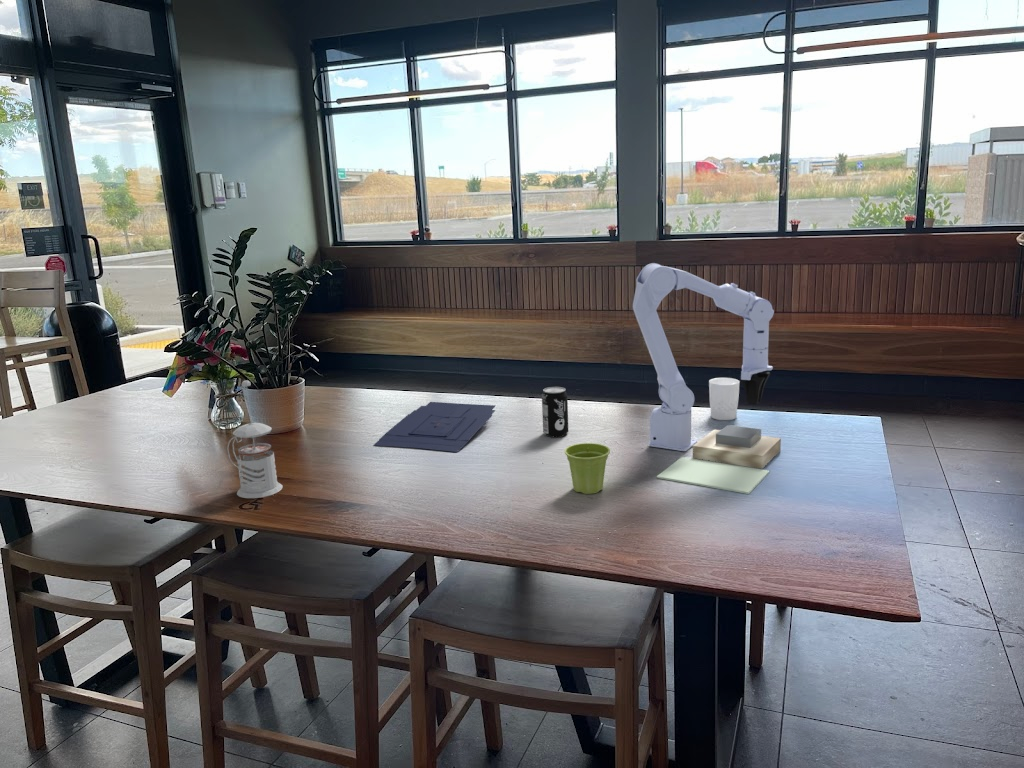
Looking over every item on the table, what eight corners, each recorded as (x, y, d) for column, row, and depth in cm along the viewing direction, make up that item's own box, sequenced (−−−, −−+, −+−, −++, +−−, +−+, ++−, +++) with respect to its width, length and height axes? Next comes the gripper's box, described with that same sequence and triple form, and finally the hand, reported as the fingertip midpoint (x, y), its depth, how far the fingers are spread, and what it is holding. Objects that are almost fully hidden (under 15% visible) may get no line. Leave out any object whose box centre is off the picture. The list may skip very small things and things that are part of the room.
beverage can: (573, 432, 203) (571, 387, 200) (560, 439, 197) (559, 393, 195) (551, 429, 206) (549, 385, 203) (538, 436, 201) (536, 391, 198)
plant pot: (616, 494, 160) (615, 454, 158) (571, 499, 158) (570, 459, 156) (603, 479, 169) (602, 441, 167) (561, 483, 167) (560, 445, 165)
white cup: (715, 411, 215) (715, 376, 213) (743, 415, 211) (743, 379, 208) (704, 418, 209) (704, 382, 207) (732, 422, 204) (733, 385, 202)
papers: (503, 414, 218) (502, 402, 216) (459, 462, 192) (457, 448, 190) (425, 410, 226) (424, 398, 225) (373, 454, 200) (371, 441, 199)
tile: (715, 443, 179) (715, 434, 179) (727, 433, 186) (727, 425, 185) (750, 448, 175) (750, 438, 174) (761, 438, 181) (761, 429, 181)
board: (692, 458, 179) (692, 445, 178) (714, 441, 190) (714, 429, 190) (762, 468, 170) (762, 455, 170) (780, 450, 181) (780, 438, 181)
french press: (264, 500, 166) (249, 386, 160) (220, 495, 170) (204, 384, 164) (291, 483, 175) (278, 376, 169) (249, 479, 179) (235, 374, 173)
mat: (656, 477, 168) (656, 476, 168) (681, 458, 179) (681, 457, 179) (748, 494, 157) (748, 492, 157) (769, 472, 168) (769, 470, 168)
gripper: (763, 354, 176) (761, 412, 180) (781, 343, 188) (779, 397, 191) (732, 352, 180) (731, 408, 184) (752, 341, 192) (750, 394, 195)
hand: (754, 402), depth 188 cm, fingers closed
